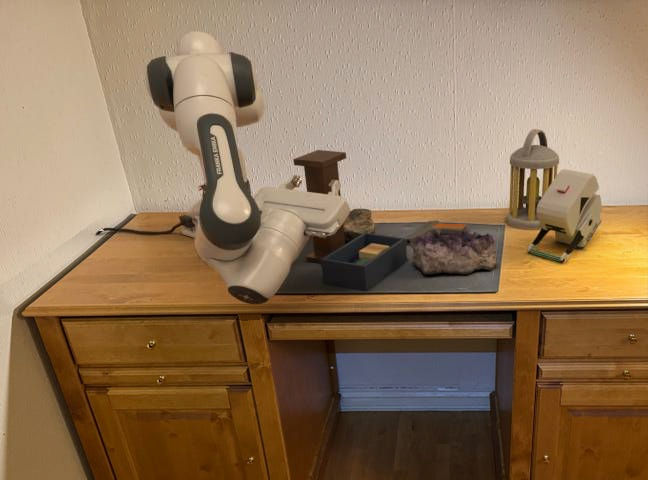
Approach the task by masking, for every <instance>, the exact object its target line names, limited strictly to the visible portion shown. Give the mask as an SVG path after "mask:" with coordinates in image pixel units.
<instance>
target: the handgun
mask: <svg viewBox="0 0 648 480" xmlns="http://www.w3.org/2000/svg"><path fill="white" fill-rule="evenodd" d="M467 227H468V225H467V224H464V223H441V222H440V221H439V220H435V219H434V220H428V221H427V222H426V223H424V224H423V225H421V227H419V228H418V229H417V230H416V231H414V232H413V233H412V234H411V235H410V236H408V237H406V246H407V245H408V246H411V240H412V238H415V237H421V238H423V236H424V235H426V234H430V235H433V236H435V234H440V235H451V234H453V233H456V232H458V234H459V235H461V233H462V231H467Z"/></svg>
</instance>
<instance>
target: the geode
mask: <svg viewBox="0 0 648 480" xmlns="http://www.w3.org/2000/svg"><path fill="white" fill-rule="evenodd" d="M410 247H411V248H412V250H413V253H412V260H411V264H412V265H414V266H415V267H417V268H418V269H420V271H421V273H422V274H424V275H434V274H442V273H445V274H450V275H451V274H454V275H455V274H457V275H469V274H471V273H473V272H474V271H479V270H486V271H493V270H494V269H496V266H497V260H496V254H497V250H496V246H495V239H494V237H493V235H491V234H490V233H488V232H487V233H486V234H483V235H482V234H480V233H478V232H476V231H474V232H473V234H472V233H470V232H467V230H466V231H462V233H461V235H459V234H458V232H456V233H453V234H451V235H449V234H435V235H430V234H426V235H424V236H423V238H421V237H415V238H412V240H411V245H410Z"/></svg>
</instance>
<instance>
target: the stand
mask: <svg viewBox="0 0 648 480" xmlns="http://www.w3.org/2000/svg"><path fill="white" fill-rule="evenodd" d="M346 159H347V152H345V151H335V150H323V149H316V150H314V151H311V152H309V153H305V154H303V155H301V156H298V157H296V158H293V166H299V167H303V170H304V171H303V172H304V176H305V186H306V192H312V193H320V194H327V195H328V193H329V192H332V191H331V188H330V187H329V183H330V182H331V180H339V181H340V174H339V165H338V163H339V162H341V161H343V160H346ZM338 195H339V196H342V194H341V189H340V190H339V191H338ZM312 244H313V252H311V253H310V254H307V255H306V256H305V261H306V262H311V263H316V264H321V259H322V258H324V257H325V256H327V255H329V254H330V253H332V252H334V251H335V250H337V249H339V248H340V247H342V246H344V245H345V244H346V240H345V236H344V226H343V224H342V225H341V227H340V228H339V229H338V230H337V231H336V233H335V234H334V235H331V236H328V237H326V238H319V237H312Z"/></svg>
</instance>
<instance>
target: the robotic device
mask: <svg viewBox="0 0 648 480" xmlns="http://www.w3.org/2000/svg"><path fill="white" fill-rule="evenodd" d="M599 187H600V186H599V183H598V179H597V177H596V175H595V174H593V173H588V172H583V171H576V170H572V169H565V168H564V169H560V171H559V172H557V176H556V177H555V179H554V178H553V181H552V183H551V185H550V186H549V188H548V189H547V191H546V192H545V194H544V195H543V197H542V196H541V197H542V198H541V200H540V201H539V203H538V205H537V210H536V212H537V217H538V219H539V222H540V224H541V226H542V229H539V232H538V233H537V235H536V237H535V238H534V240H533V241H532V242H531V243H530V245H529V246H528V247H527V250H526V251H527V254H530V255H531V254H532V255H535V256H538V257H542V258H545V259H549V260H553V261H555V262H560V263H561V264H565V263H566V262H567V260H568V259H569V258H570V257H571V255H572V253H573V251H574V250H576V248H577V249H579V250H580V249H581V250H584V249H585V248H586V247H587V245H588V243H589V241H590V240H591V238H592V237H593V235H594V233H596V230H597V229H598V227H599V226H600V225H601V223H602V219H601V213H602V212H603V211H602V210H603V205H602V199H601V195H600V194H596V193H597V192H598V190H599ZM550 231H553V232H554V241H555V242H556V243H558V244H561V245H566V246H568V247H567V248H566V250H565V251H564V253H562V255H561V256H559V255H555V254H551V253H548V252H545V251H541V250H537V248H538V246H539V244H540V243H541V242H542V240H543V239H544V238H545V237H546V236H547V234H548V233H549V232H550Z"/></svg>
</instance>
